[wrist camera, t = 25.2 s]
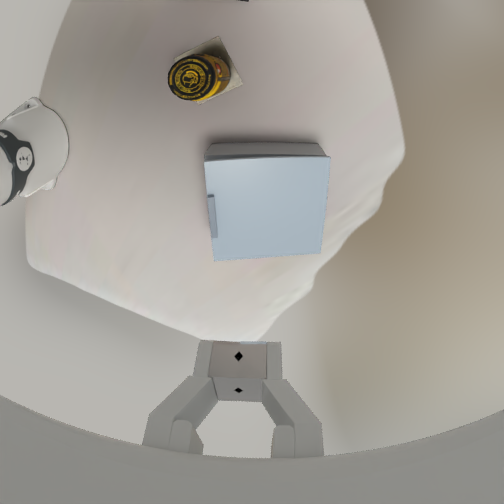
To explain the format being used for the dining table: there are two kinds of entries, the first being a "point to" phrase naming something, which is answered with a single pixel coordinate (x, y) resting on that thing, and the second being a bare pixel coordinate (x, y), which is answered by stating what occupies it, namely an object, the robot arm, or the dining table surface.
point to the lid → (266, 205)
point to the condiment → (203, 73)
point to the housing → (261, 150)
